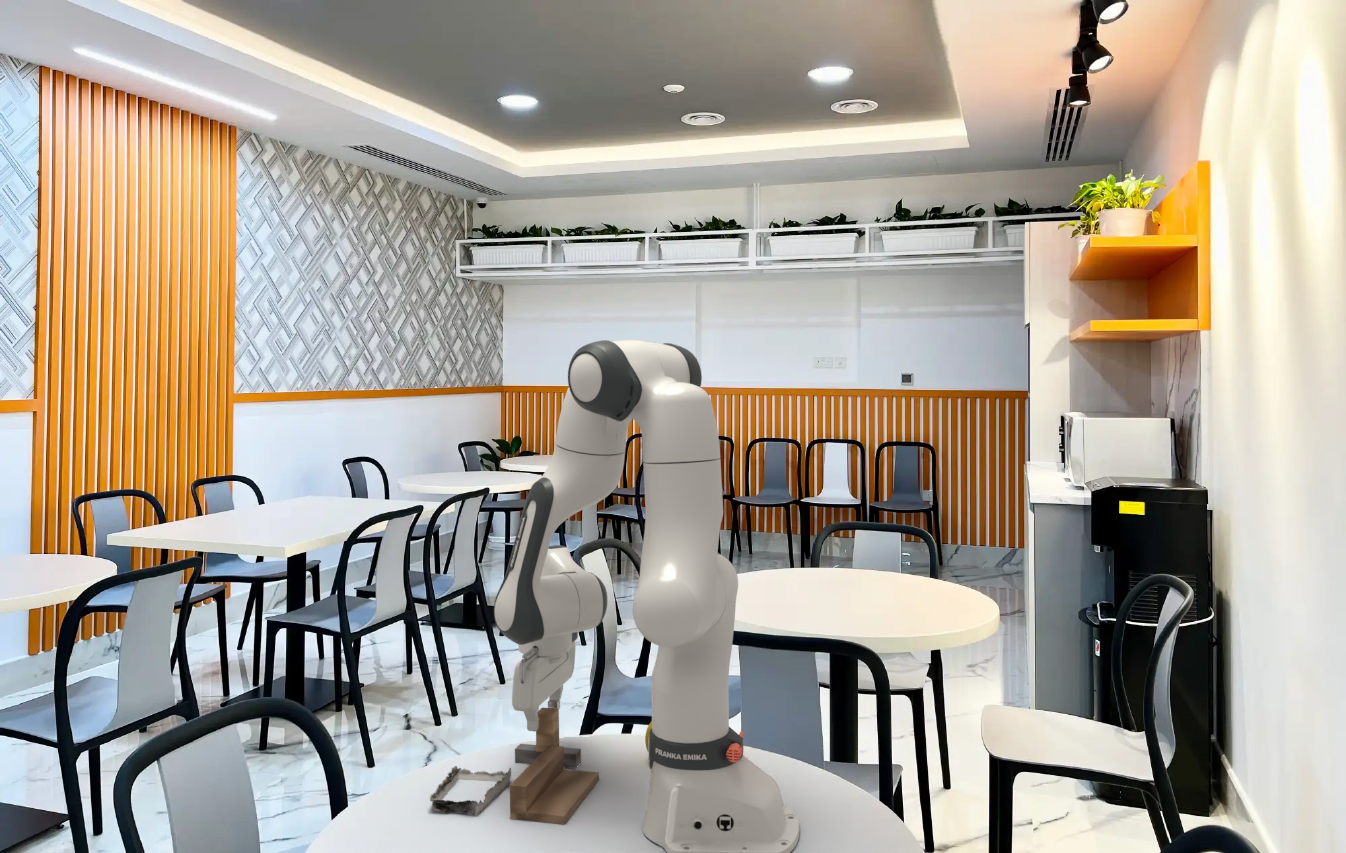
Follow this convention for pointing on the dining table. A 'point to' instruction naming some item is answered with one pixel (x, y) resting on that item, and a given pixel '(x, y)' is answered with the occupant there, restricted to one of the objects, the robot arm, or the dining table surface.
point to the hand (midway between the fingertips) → (544, 719)
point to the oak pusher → (547, 741)
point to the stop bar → (549, 789)
